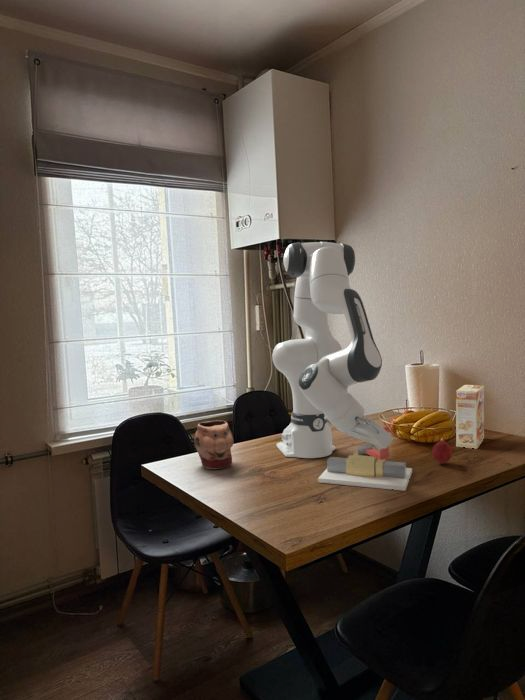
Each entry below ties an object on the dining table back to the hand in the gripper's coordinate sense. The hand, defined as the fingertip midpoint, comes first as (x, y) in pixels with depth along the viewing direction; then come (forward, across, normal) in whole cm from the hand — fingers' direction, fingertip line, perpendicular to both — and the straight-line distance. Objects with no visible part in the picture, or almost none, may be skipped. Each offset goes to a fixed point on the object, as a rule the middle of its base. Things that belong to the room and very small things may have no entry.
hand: (379, 447), depth 140 cm
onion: (+28, +9, -13) cm, 33 cm away
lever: (+4, +6, +1) cm, 7 cm away
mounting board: (+10, +10, +6) cm, 15 cm away
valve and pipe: (+10, +10, +6) cm, 15 cm away
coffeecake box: (+46, +24, -31) cm, 60 cm away
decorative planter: (-15, +43, +32) cm, 56 cm away
